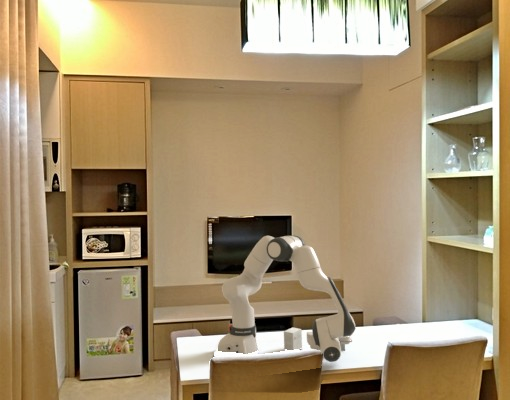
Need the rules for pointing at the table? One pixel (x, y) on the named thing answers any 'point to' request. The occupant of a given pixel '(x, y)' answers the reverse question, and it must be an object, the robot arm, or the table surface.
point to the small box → (293, 339)
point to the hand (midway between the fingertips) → (327, 332)
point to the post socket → (342, 346)
